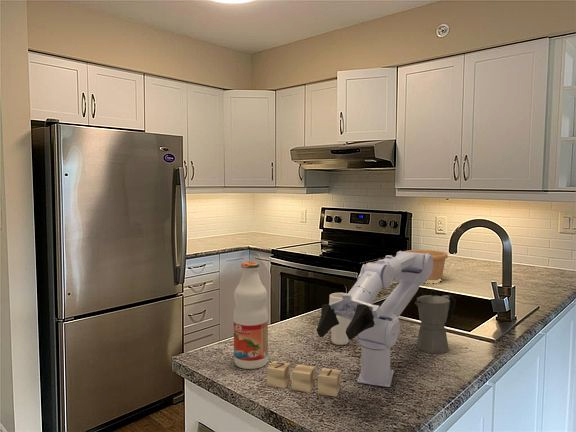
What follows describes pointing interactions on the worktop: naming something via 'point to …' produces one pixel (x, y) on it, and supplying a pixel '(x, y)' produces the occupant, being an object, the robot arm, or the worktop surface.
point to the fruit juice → (250, 319)
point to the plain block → (303, 378)
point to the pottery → (434, 262)
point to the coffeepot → (434, 322)
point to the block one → (329, 382)
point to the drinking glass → (340, 329)
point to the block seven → (278, 374)
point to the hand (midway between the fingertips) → (333, 334)
